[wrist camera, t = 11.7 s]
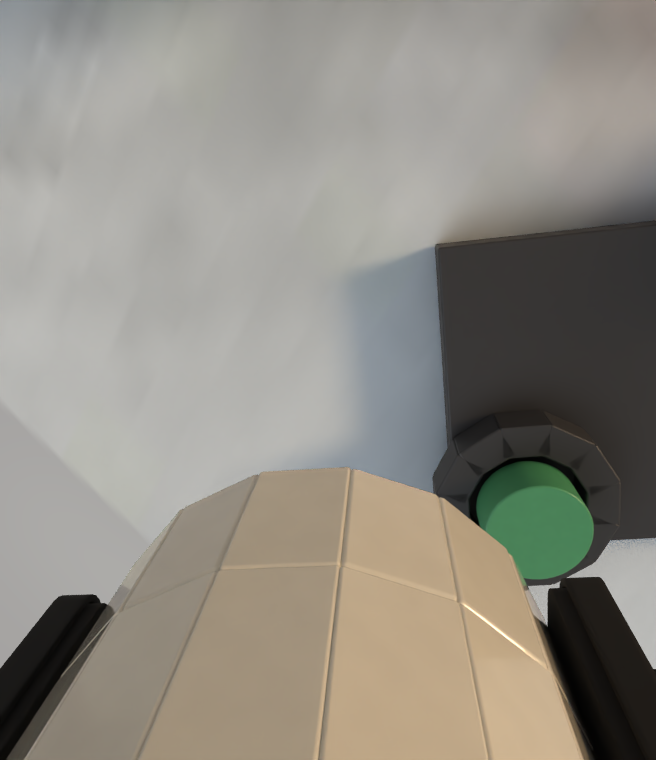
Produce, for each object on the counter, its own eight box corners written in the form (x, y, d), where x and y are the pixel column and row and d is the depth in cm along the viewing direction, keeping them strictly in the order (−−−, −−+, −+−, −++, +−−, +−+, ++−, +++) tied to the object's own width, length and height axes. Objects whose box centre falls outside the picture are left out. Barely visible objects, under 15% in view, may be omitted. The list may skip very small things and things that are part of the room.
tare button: (478, 550, 24) (486, 583, 22) (473, 463, 23) (482, 489, 21) (576, 544, 23) (594, 577, 21) (576, 456, 22) (595, 482, 20)
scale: (436, 547, 27) (442, 590, 24) (414, 246, 23) (418, 254, 20) (805, 527, 25) (860, 571, 22) (845, 200, 21) (916, 201, 18)
